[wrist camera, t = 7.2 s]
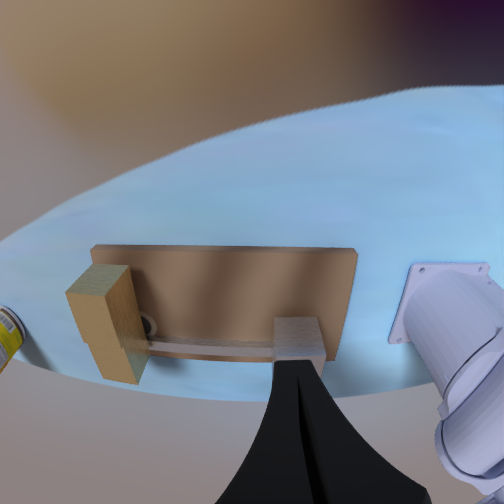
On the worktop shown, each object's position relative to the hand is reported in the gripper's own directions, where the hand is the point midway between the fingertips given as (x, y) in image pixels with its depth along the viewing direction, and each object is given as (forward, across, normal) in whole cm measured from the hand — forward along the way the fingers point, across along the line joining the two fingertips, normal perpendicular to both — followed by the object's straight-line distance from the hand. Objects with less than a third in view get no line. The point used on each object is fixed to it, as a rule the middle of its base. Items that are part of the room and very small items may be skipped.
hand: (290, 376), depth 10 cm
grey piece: (+9, +5, +6) cm, 12 cm away
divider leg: (+9, +11, +4) cm, 15 cm away
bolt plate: (+10, +4, +4) cm, 12 cm away
